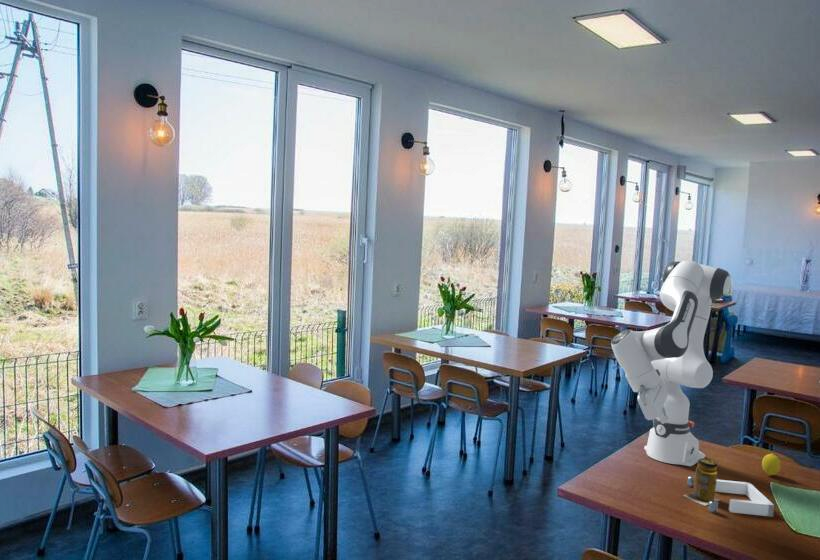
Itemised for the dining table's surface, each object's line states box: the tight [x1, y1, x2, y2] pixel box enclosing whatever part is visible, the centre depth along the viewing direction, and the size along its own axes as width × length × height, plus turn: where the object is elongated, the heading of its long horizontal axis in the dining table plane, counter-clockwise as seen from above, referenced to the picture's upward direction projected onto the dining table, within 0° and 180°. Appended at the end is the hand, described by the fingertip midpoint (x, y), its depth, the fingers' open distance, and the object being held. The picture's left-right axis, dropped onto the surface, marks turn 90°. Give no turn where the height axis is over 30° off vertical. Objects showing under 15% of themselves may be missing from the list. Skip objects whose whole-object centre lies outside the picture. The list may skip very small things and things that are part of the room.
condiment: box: [682, 458, 720, 506], centre depth 188 cm, size 7×8×12 cm
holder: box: [715, 478, 775, 518], centre depth 187 cm, size 12×16×4 cm
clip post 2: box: [707, 500, 719, 515], centre depth 179 cm, size 2×2×3 cm
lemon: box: [761, 452, 781, 477], centre depth 210 cm, size 6×6×8 cm
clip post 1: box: [686, 475, 695, 489], centre depth 197 cm, size 2×2×3 cm
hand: (665, 421), depth 186 cm, fingers closed
